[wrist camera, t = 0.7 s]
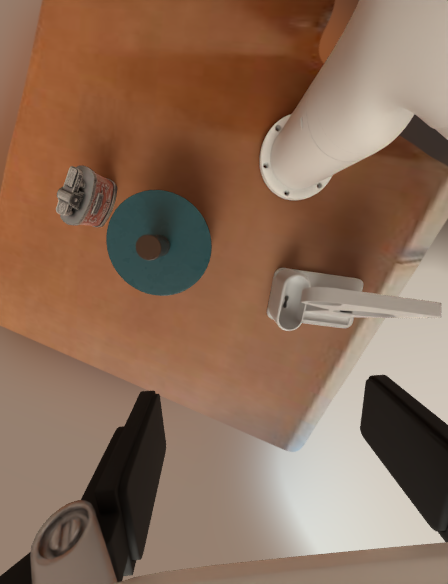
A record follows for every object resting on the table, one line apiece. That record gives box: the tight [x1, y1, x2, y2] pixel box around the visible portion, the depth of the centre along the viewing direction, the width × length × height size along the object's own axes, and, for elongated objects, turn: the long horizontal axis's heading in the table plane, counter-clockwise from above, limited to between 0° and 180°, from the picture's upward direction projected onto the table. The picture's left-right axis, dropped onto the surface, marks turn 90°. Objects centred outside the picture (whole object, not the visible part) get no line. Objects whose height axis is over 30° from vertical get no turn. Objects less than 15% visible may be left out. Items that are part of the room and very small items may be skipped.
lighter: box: [56, 166, 117, 227], centre depth 33 cm, size 8×3×10 cm, turn 153°
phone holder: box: [267, 268, 441, 331], centre depth 35 cm, size 17×10×18 cm, turn 82°
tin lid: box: [107, 190, 211, 296], centre depth 26 cm, size 13×13×6 cm
